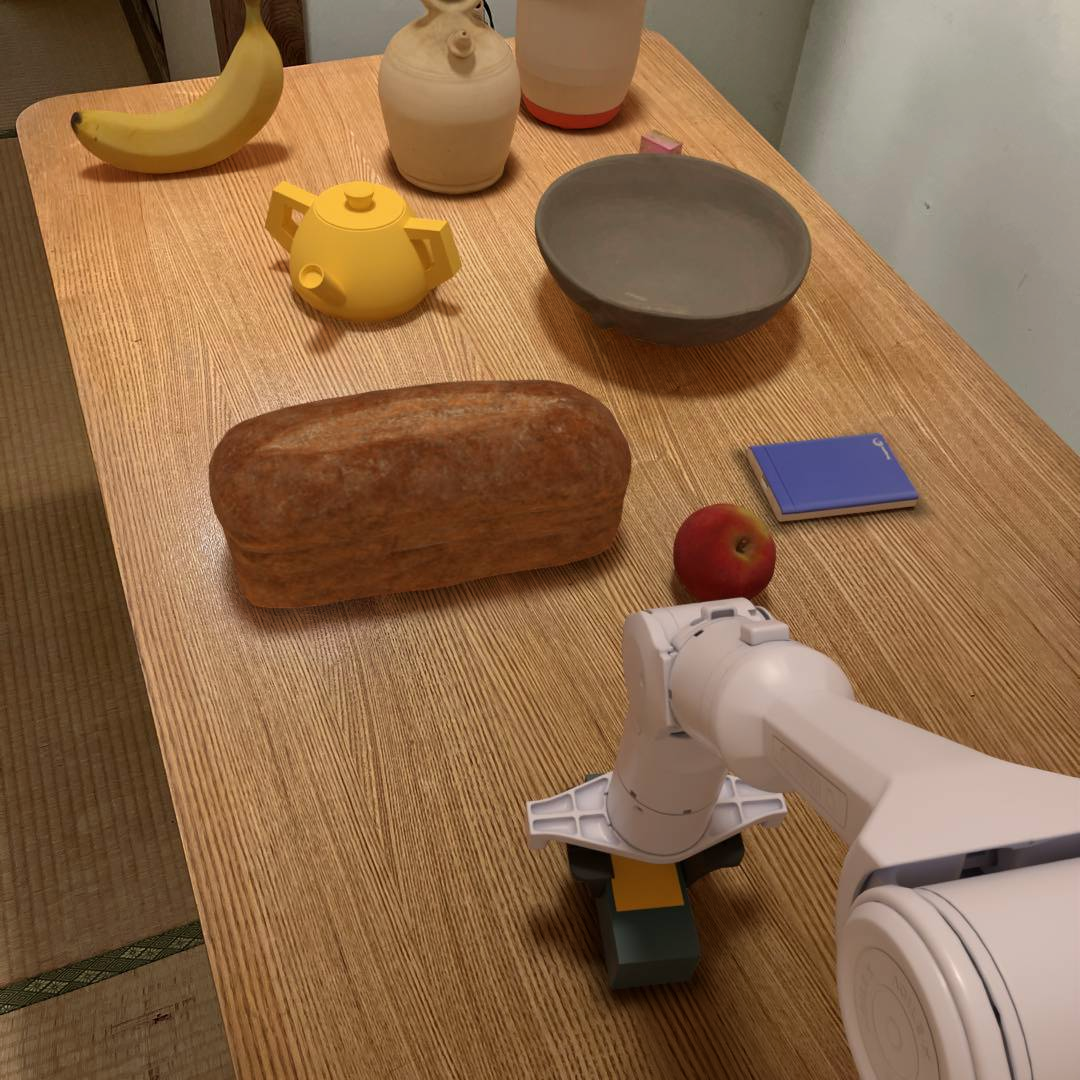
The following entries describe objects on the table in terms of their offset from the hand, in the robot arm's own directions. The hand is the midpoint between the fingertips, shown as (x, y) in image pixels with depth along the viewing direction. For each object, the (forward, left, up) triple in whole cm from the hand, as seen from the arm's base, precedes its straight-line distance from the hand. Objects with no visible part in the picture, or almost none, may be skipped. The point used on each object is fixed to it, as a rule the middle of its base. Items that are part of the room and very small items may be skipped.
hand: (635, 878), depth 66 cm
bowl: (+60, -14, -2) cm, 61 cm away
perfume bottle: (+84, -21, -2) cm, 86 cm away
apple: (+24, -11, -2) cm, 26 cm away
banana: (+88, +34, -2) cm, 94 cm away
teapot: (+63, +16, -2) cm, 65 cm away
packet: (0, 0, -1) cm, 1 cm away
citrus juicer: (+103, -11, -2) cm, 103 cm away
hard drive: (+35, -24, -2) cm, 42 cm away
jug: (+88, +5, -2) cm, 88 cm away
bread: (+30, +11, -2) cm, 32 cm away
